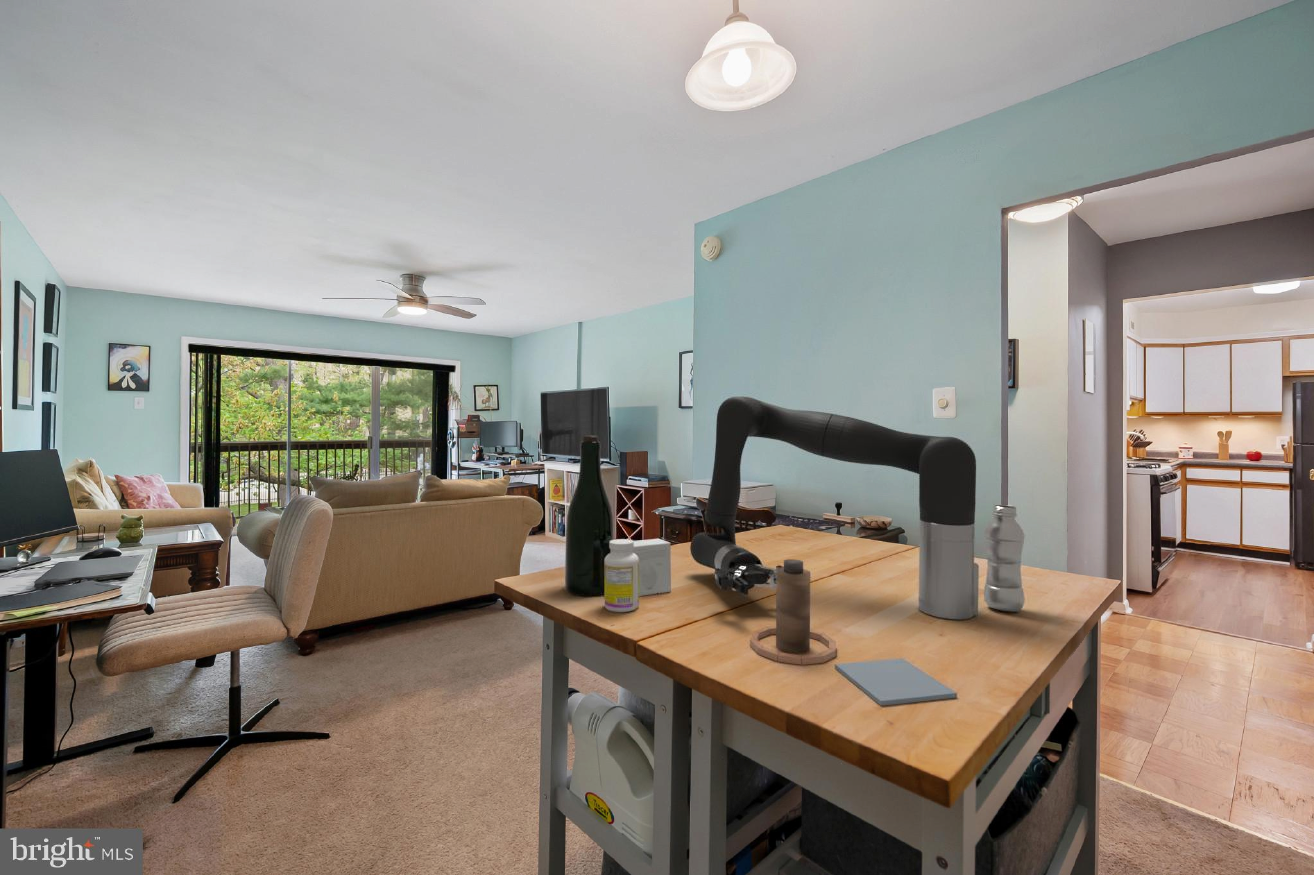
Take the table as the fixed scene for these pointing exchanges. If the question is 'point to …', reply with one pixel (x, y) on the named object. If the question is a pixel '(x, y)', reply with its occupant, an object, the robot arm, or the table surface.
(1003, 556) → the plastic bottle
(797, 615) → the pepper mill
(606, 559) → the supplement bottle
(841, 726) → the table surface
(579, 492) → the wine bottle
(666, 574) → the skincare box
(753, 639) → the pinkish tan segmented ring
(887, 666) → the mat
